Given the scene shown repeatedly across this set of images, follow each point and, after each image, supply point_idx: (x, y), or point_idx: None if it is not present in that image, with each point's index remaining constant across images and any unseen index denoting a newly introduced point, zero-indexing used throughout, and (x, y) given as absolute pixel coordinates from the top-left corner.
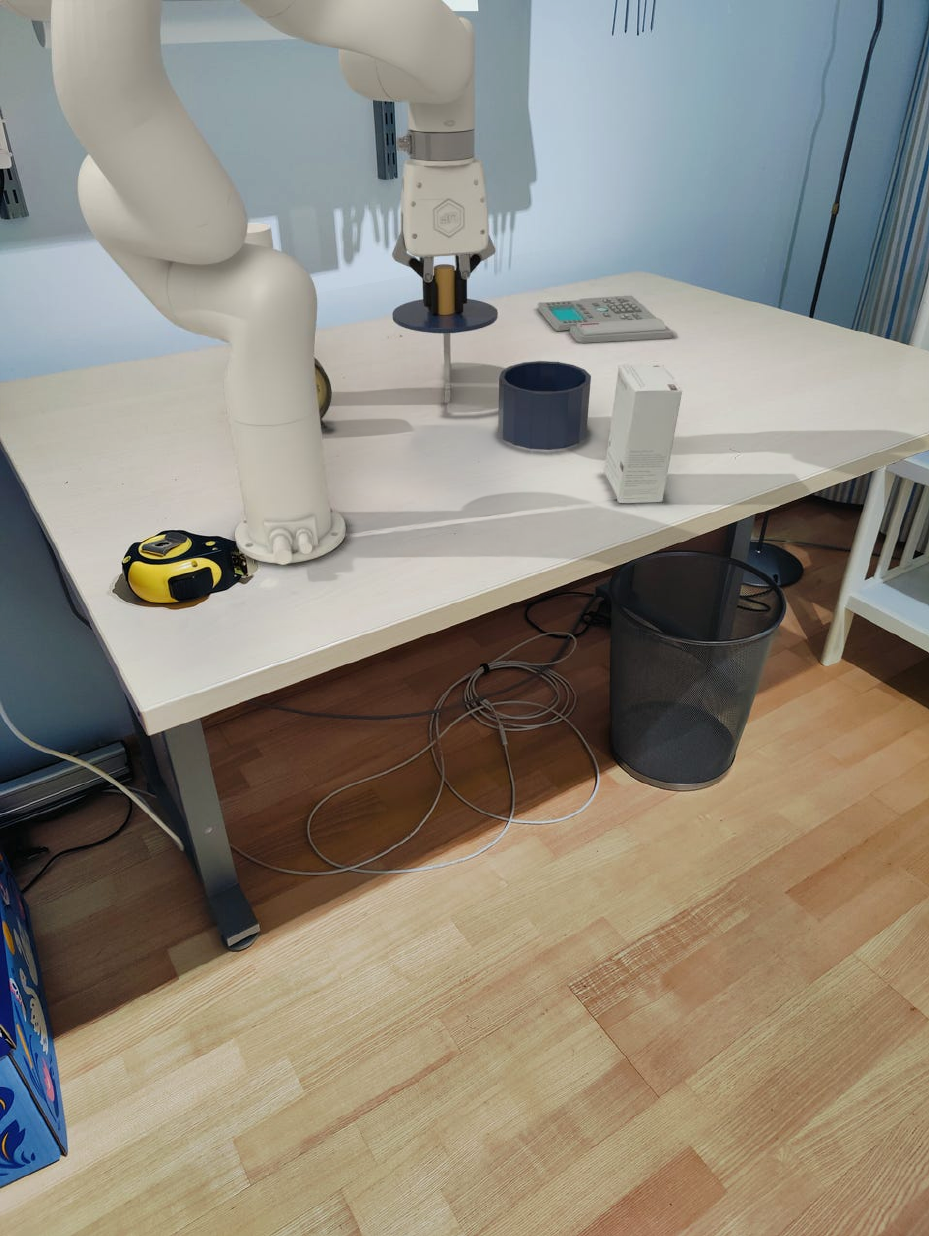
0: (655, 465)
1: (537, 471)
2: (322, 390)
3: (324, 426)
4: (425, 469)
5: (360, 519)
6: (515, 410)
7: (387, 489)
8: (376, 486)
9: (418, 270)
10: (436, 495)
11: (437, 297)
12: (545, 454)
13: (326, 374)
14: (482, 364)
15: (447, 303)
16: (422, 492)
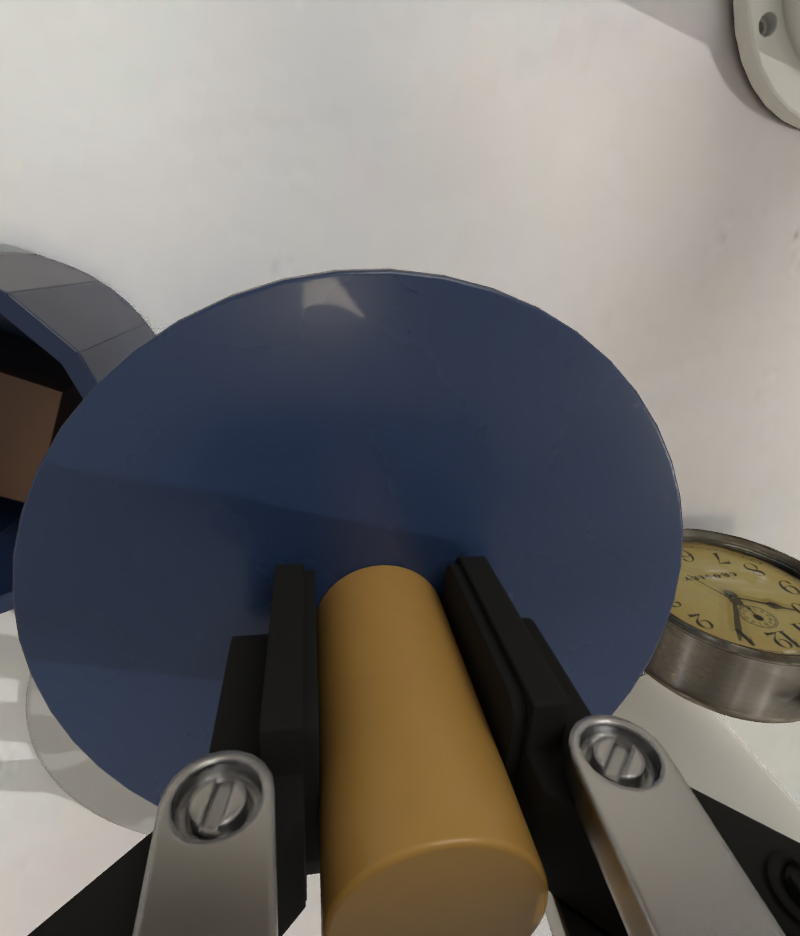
0: None
1: (103, 134)
2: None
3: None
4: (431, 266)
5: (679, 6)
6: (108, 336)
7: (559, 173)
8: (579, 203)
9: (727, 832)
10: (448, 80)
11: (479, 623)
12: (52, 253)
13: (670, 619)
14: (136, 827)
15: (390, 604)
16: (479, 117)
